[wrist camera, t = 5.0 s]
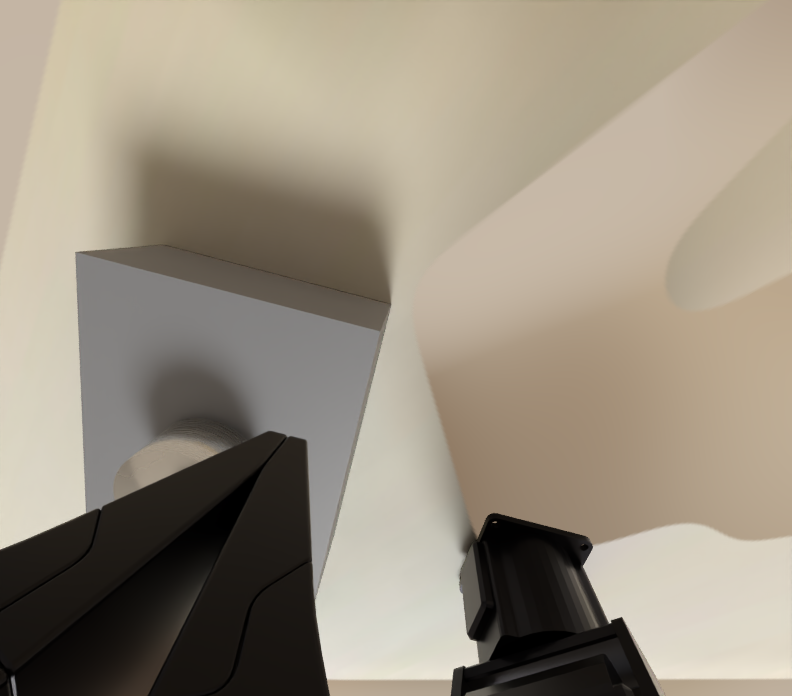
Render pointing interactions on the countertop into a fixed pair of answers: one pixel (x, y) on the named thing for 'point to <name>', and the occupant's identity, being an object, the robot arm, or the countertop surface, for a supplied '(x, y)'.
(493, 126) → the countertop surface
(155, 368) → the panel
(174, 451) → the knob
